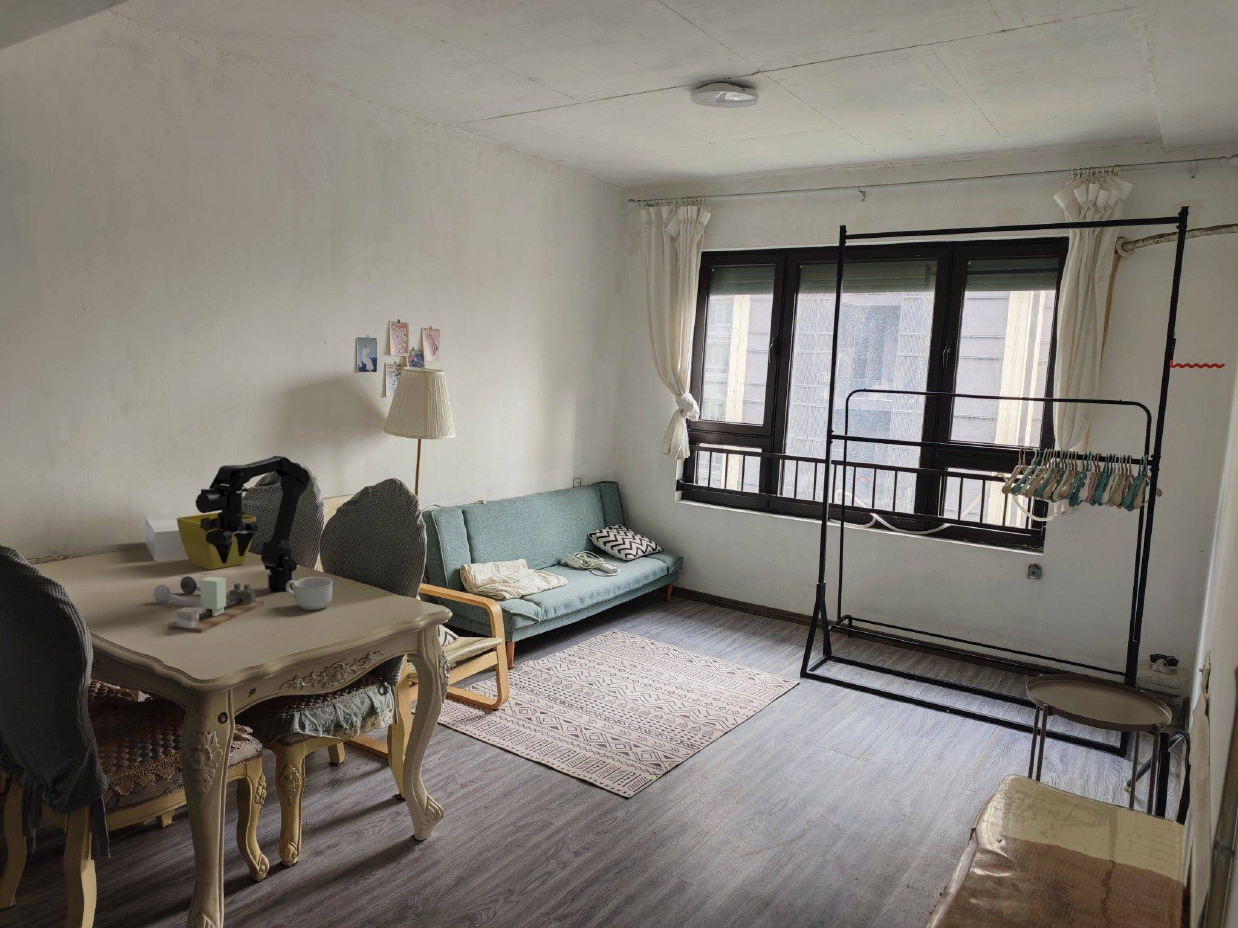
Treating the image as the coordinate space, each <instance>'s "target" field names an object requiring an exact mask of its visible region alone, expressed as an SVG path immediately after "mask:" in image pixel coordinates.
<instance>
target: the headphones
mask: <svg viewBox="0 0 1238 928" xmlns="http://www.w3.org/2000/svg"><path fill="white" fill-rule="evenodd" d="M180 578H181V579H178V582H180V583H179V585H180V589H181V591H182V592H183V593H184V594H186V593H189V594H188V595H193V594H194V593H196V591H197V592H199V593H201V584H200V585H199V584H198V583H197V581H196V580H195V578H194V577H192V576H189V575H188V576H180ZM153 598H154V600H155V601H156V602H157V603H158V604H167V603H168V602H169V601H171V602H173V603H175V604H181V605H184V606H191V607H198V606H201V599H200V600H199V599H198V600H196V599H195V600H194V599H185V598H183V597H181V596H179V595H177V594H172V593H171V591H170V588H168V586H166V585H164V584H158V585H157V586H155V587H154V590H153Z"/></svg>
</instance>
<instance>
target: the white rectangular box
mask: <svg viewBox="0 0 1238 928" xmlns="http://www.w3.org/2000/svg"><path fill="white" fill-rule="evenodd" d="M177 518H179V516H178V515H177V514H164V515H148V516H147V515H146V516H144V534H145V536H144V540H145V541H144V543H145V546H146V547H147V549H148V551H149V552H150V555H151V556H152V558H153V559H154V561H155V562H161V561H162V562H163V561H164V562H165V561H173V560H174V561H175V560H177V561H178V560H187V559H188V560H189V558H188V556H187V553H186V551H185V548H184V545H183V542H182V539H181V536H180V532H179V528H178V524H177Z"/></svg>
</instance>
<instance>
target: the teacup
mask: <svg viewBox="0 0 1238 928" xmlns="http://www.w3.org/2000/svg"><path fill="white" fill-rule="evenodd" d="M290 584H292V586H294V590H291V589H290ZM286 590H287V591H286V592H287V593H288V594H289V595H290V596H291V597H293V598H294V600H295V604H297V605H298V606H299V607H300V608H301V609H303V610H306V611H317V610H322V609H324V608H325V607H326V606H327V605H329V604H330V603H331V601H332V597H333V579H331V578H328V577H324V576H323V577H321V576H310V577H303V578H300V579H298V580H293V579H292V580H291V581H289V582H288V583H287V584H286Z"/></svg>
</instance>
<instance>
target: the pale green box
mask: <svg viewBox="0 0 1238 928" xmlns="http://www.w3.org/2000/svg"><path fill="white" fill-rule="evenodd" d="M200 586H201V592H200V600H201V605H200V609H202V611H203V613H204V612H207V611H209V610H211V609H212V616H217V615H219V614H221V613H224V606H226V601H227V578H226V577H220V576H219V577H217V576H208V577H205V578H202V579H200Z"/></svg>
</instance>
